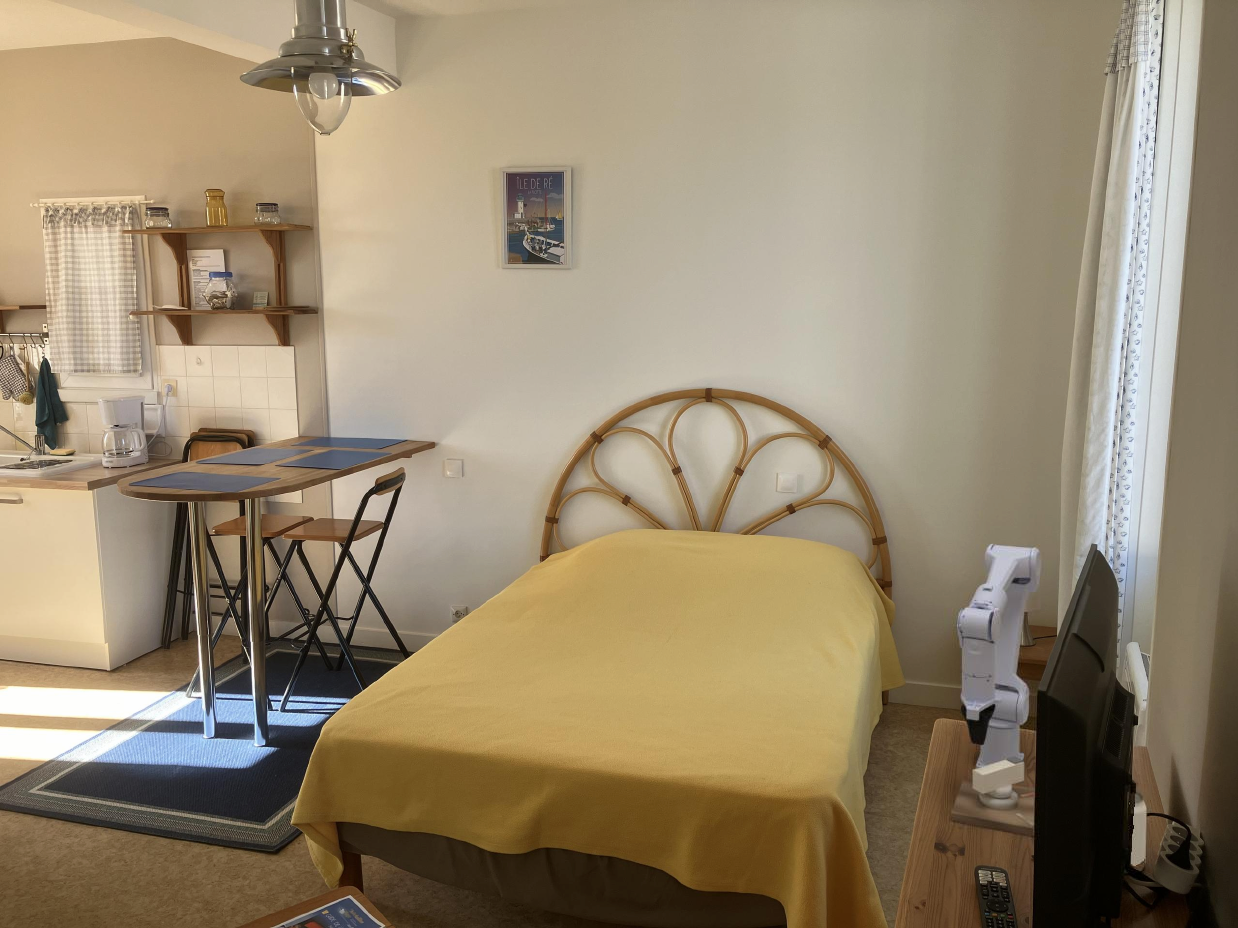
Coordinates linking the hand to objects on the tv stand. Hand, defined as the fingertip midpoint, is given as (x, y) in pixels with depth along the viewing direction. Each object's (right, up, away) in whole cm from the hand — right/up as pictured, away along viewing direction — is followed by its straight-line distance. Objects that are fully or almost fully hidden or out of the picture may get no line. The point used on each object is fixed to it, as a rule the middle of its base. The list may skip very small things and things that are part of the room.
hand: (978, 742), depth 176 cm
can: (+15, -13, -23) cm, 30 cm away
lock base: (+2, -11, -4) cm, 12 cm away
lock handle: (+2, -8, -4) cm, 9 cm away
